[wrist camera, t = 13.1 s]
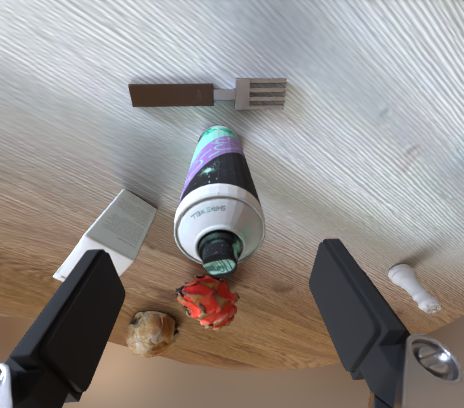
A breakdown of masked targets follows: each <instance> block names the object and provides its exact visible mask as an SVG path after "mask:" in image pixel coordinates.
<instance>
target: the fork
mask: <svg viewBox="0 0 464 408" xmlns="http://www.w3.org/2000/svg"><path fill="white" fill-rule="evenodd" d="M250 83H286V78H236V79H235V89H213V84H128V87H129V91H130V96H131V100H132V105H133V107H167V106H214V100H235V110H266V109H283V105H249V104H250V101H284V96H259V97H250V92H285V87H270V88H250Z"/></svg>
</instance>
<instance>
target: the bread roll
mask: <svg viewBox="0 0 464 408" xmlns="http://www.w3.org/2000/svg"><path fill="white" fill-rule="evenodd" d="M135 316H136V317H134V319H133V320H132V321H131V322H130V323H129V326H128V328H127V331H126V341H127V344H128V346H129V348H130V349H131V350H132V351H133V354H134V355H140V356H142V357H154V356H158V355H161V354H163V353H164V352H166V351H167V350H168V349H169V348H171V347H172V346H173V345H174V343H175V342H176V341H175V340H177V339H178V338H179V335H180V334H179V331H178V330H177V327H178V325H177V323H176V322H175V320H174V319H173V318H172V317H171V316H170V315H169V314H164V313H161V312H157V311H146V312H139V313H137V314H136V315H135Z"/></svg>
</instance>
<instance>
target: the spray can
mask: <svg viewBox="0 0 464 408" xmlns="http://www.w3.org/2000/svg"><path fill="white" fill-rule="evenodd" d="M174 223H175V226H174V237H175V241H176V244H177V245H178V247H179V249H180V250H181V251H182V252H183V253H184V254H185V255H186V256H187V257H188V258H190V259H191V260H193V261H195V262H197V263H200V264H203V266H204V268H205V269H206V270H207V271H208V272H209V273H210V274H212V275H213V276H216V277H220V278H224V277H228V276H230V275H232V274H233V273H234V272H235V271H236V269H237V264H238V263H241V262H243V261H245V260H247V259H248V258H250V257H251V256H253V255H254V254H255V253H256V252H257V251H258V249H259V248H260V247H261V245H262V243H263V241H264V237H265V218H264V214H263V210H262V207H261V204H260V201H259V198H258V195H257V192H256V189H255V186H254V183H253V180H252V177H251V174H250V171H249V168H248V165H247V162H246V159H245V155H244V152H243V149H242V146H241V143H240V140H239V138H238V136H237V135H236V133H235V132H234V131H233V130H231V129H230V128H228V127H226V126H221V125H216V126H212V127H209V128H208V129H206V130H205V131H204V132H203V133H202V134H201V136H200V138H199V140H198V143H197V147H196V150H195V153H194V156H193V159H192V163H191V166H190V169H189V172H188V176H187V179H186V182H185V185H184V189H183V192H182V195H181V198H180V202H179V205H178V208H177V211H176V215H175V220H174Z"/></svg>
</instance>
